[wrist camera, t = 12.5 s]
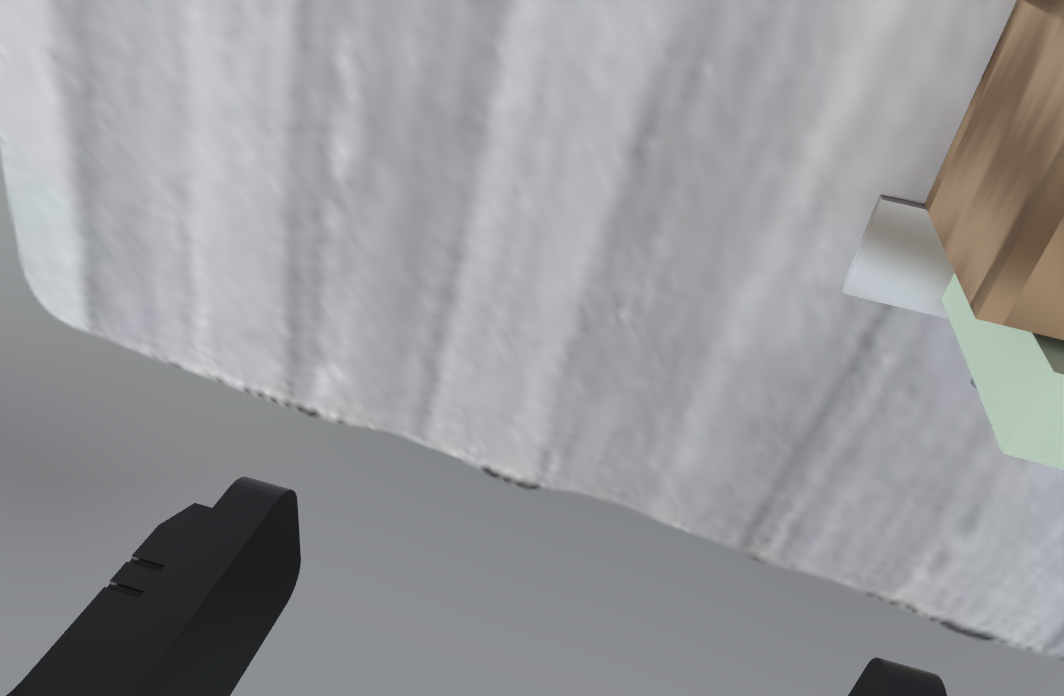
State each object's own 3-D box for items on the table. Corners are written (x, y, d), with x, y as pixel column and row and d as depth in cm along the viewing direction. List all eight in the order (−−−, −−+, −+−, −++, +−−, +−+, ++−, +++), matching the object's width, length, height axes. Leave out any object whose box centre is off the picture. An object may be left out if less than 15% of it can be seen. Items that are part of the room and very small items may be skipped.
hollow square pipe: (975, 231, 36) (1053, 371, 26) (1113, 263, 35) (1248, 420, 25) (934, 313, 39) (992, 470, 29) (1063, 344, 38) (1168, 517, 28)
